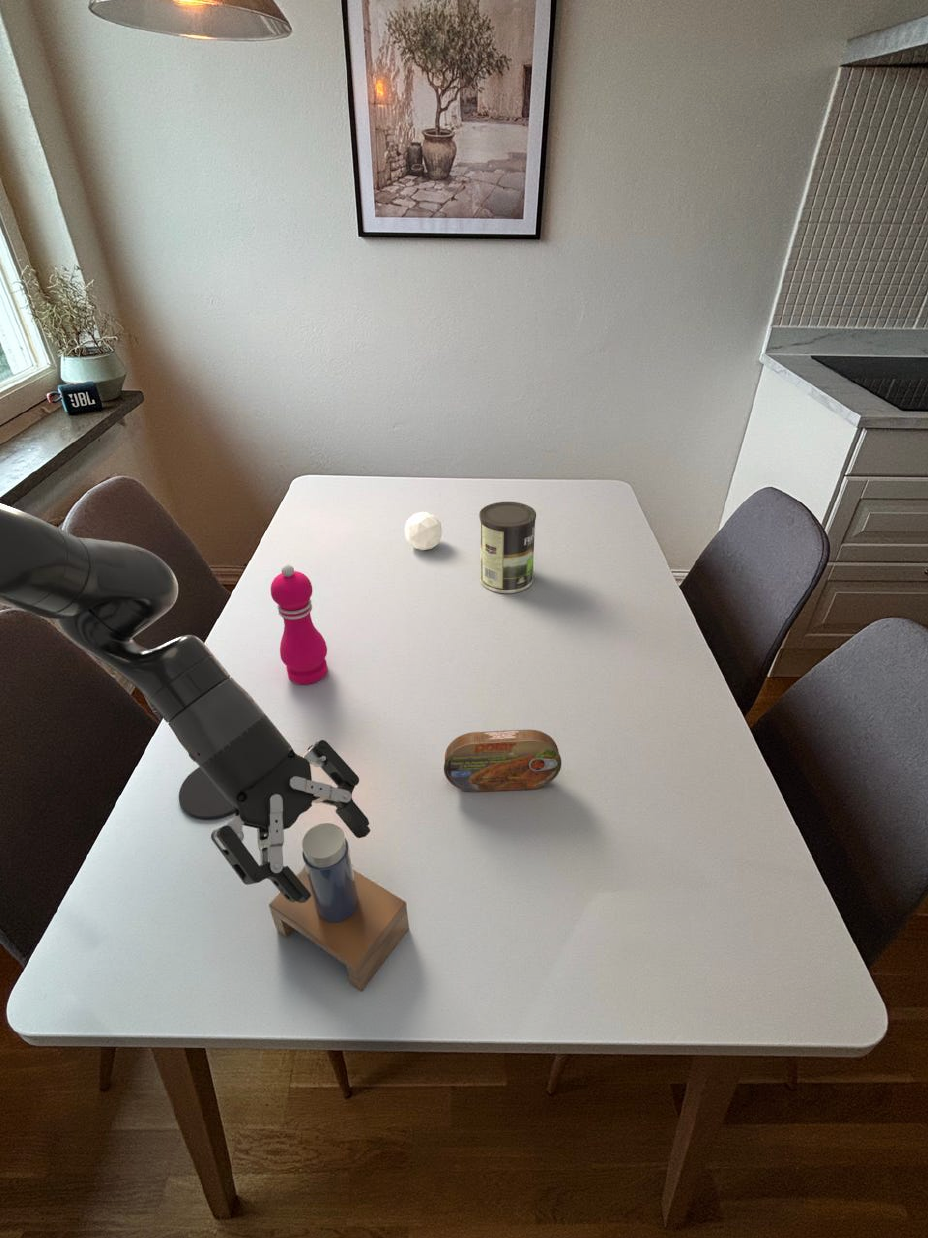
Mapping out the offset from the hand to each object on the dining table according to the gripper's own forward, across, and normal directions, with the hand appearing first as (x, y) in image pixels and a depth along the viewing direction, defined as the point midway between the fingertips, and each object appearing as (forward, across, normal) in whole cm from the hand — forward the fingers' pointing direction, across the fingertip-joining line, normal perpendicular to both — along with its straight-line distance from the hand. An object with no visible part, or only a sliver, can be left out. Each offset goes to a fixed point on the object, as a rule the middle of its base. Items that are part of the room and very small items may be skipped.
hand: (336, 865), depth 66 cm
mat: (-11, +6, +29) cm, 31 cm away
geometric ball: (-22, +73, +39) cm, 86 cm away
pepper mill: (-16, +30, +34) cm, 48 cm away
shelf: (+8, 0, +10) cm, 12 cm away
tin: (+11, +27, +7) cm, 30 cm away
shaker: (+4, 0, +6) cm, 7 cm away
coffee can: (-7, +71, +24) cm, 75 cm away
